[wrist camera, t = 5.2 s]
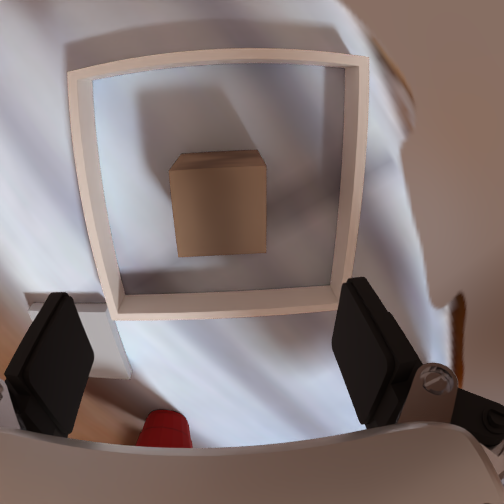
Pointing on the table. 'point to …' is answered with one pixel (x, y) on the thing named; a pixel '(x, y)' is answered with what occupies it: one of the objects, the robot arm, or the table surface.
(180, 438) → the plastic cup
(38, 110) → the table surface
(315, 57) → the beige square frame
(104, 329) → the display stand
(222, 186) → the walnut block
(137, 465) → the robot arm
